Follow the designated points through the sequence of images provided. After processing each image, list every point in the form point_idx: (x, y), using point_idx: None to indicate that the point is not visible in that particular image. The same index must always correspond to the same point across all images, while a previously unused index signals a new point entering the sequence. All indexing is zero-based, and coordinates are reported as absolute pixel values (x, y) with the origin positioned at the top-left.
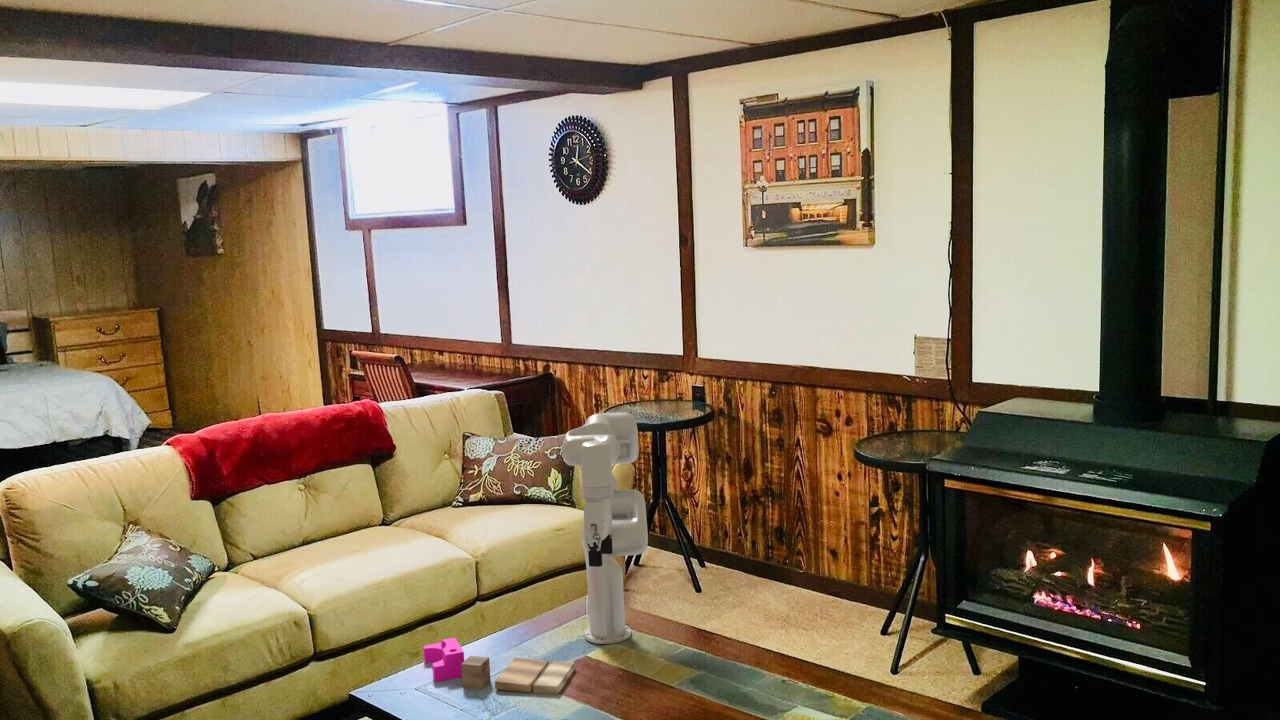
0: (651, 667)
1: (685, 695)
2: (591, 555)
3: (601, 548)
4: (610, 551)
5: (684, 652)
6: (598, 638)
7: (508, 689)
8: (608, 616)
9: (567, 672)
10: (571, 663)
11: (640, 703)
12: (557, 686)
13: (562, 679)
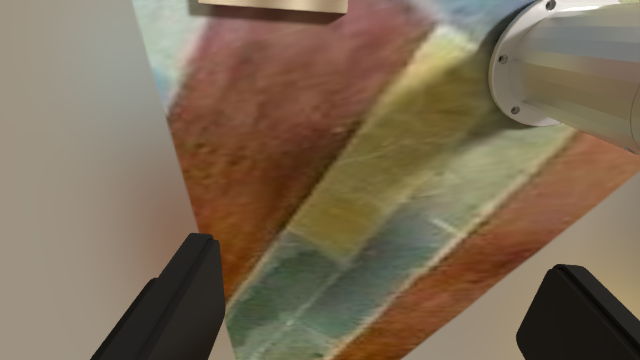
0: (362, 185)
1: (252, 248)
2: (105, 346)
3: (578, 316)
4: (528, 352)
5: (432, 234)
6: (511, 46)
7: None
8: (543, 88)
9: (285, 8)
10: (338, 6)
11: (208, 185)
12: (200, 2)
13: (241, 5)
